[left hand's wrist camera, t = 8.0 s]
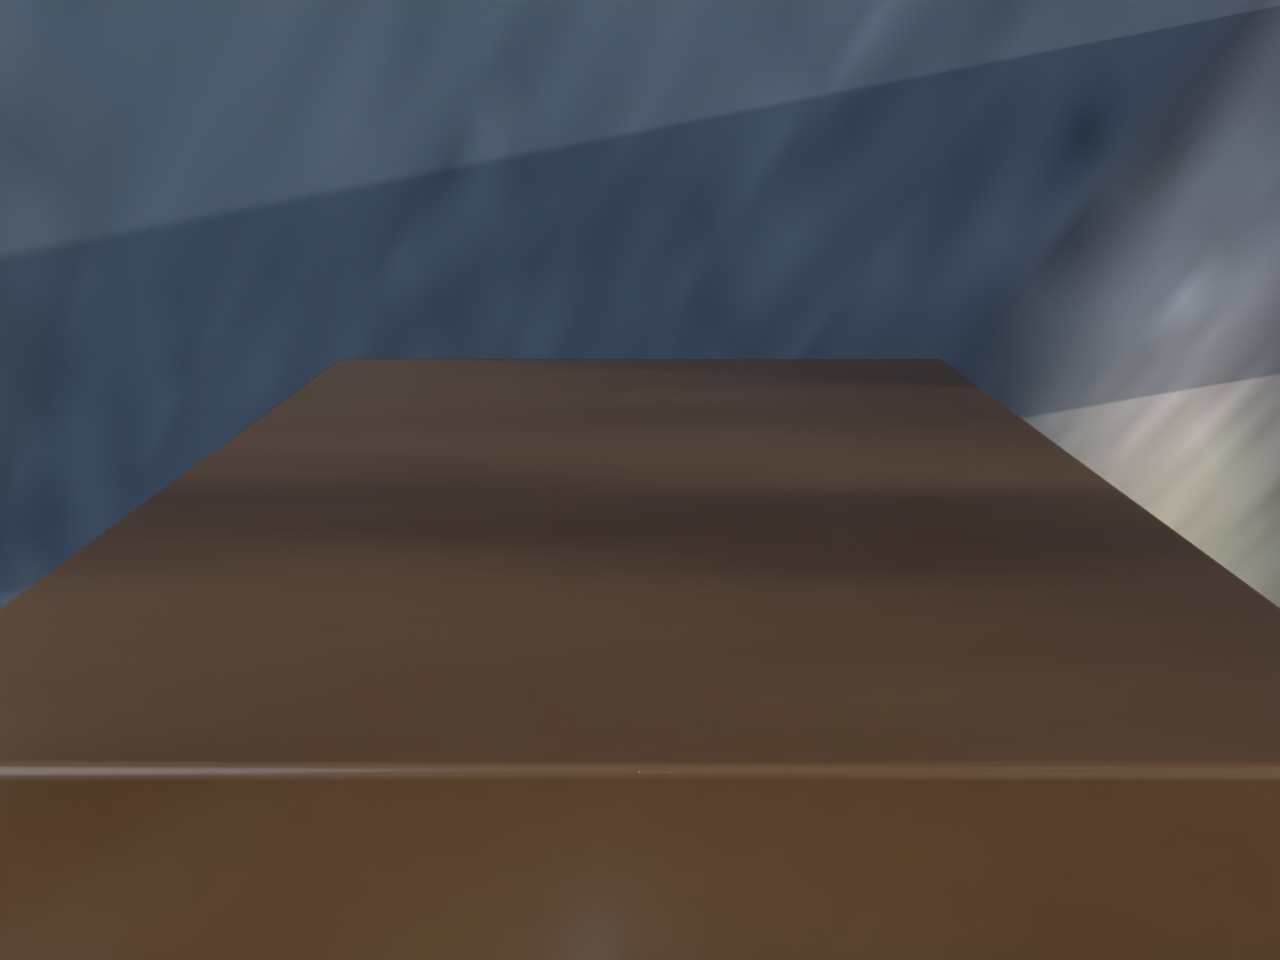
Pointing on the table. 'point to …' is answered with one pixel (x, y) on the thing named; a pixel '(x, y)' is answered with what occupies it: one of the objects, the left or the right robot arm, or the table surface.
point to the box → (640, 686)
